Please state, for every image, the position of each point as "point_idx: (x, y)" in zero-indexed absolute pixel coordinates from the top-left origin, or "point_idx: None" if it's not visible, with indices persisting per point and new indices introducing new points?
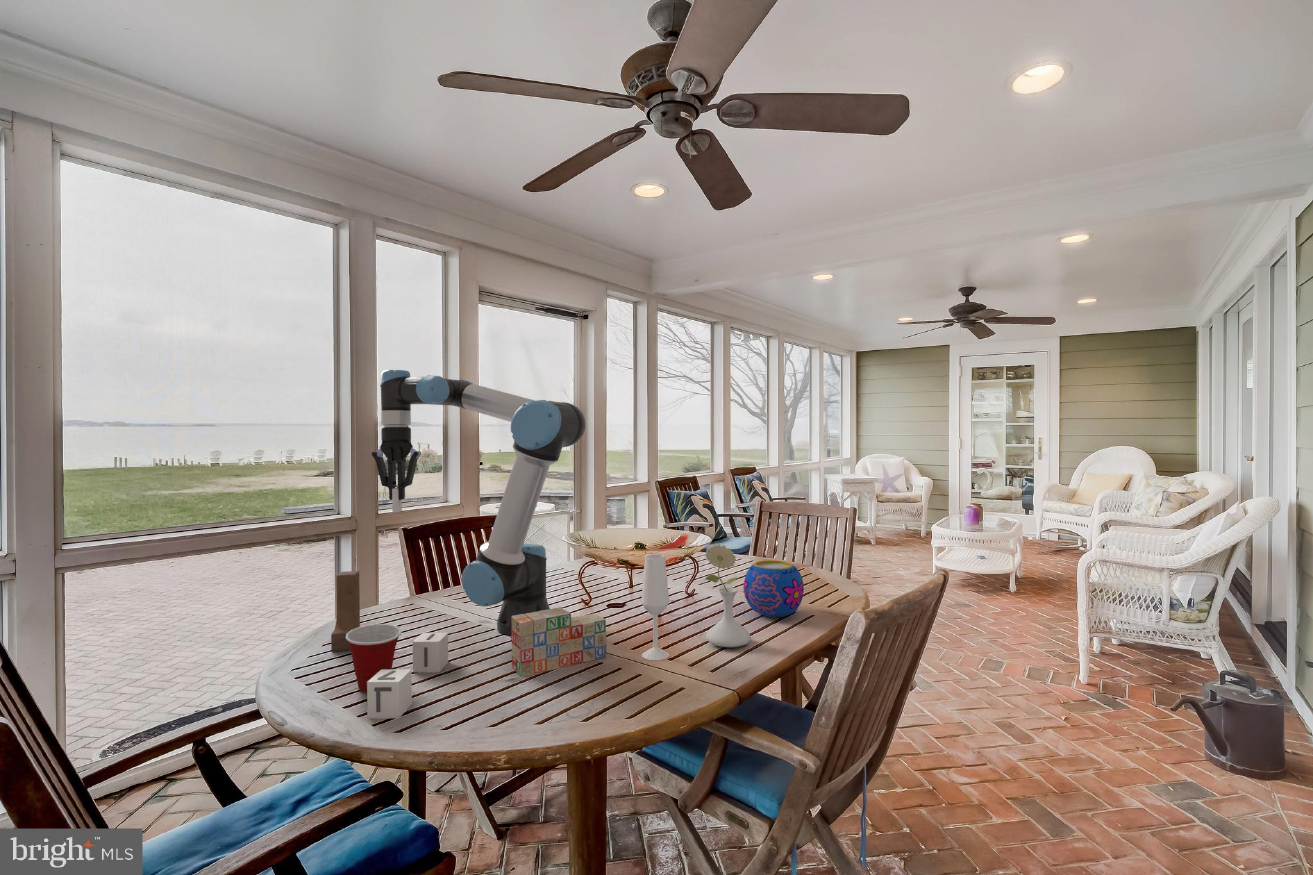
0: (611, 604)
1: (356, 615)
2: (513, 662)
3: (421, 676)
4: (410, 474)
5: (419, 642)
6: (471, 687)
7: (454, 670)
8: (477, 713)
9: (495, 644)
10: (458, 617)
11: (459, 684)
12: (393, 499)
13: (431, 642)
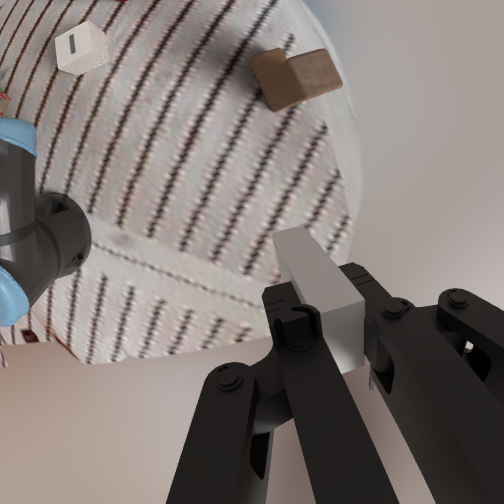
0: (35, 340)
1: (271, 85)
2: (4, 97)
3: None
4: (177, 484)
5: (79, 25)
6: (29, 39)
7: None
8: (12, 11)
9: (53, 154)
10: (177, 249)
11: (41, 37)
12: (320, 257)
13: (64, 33)
